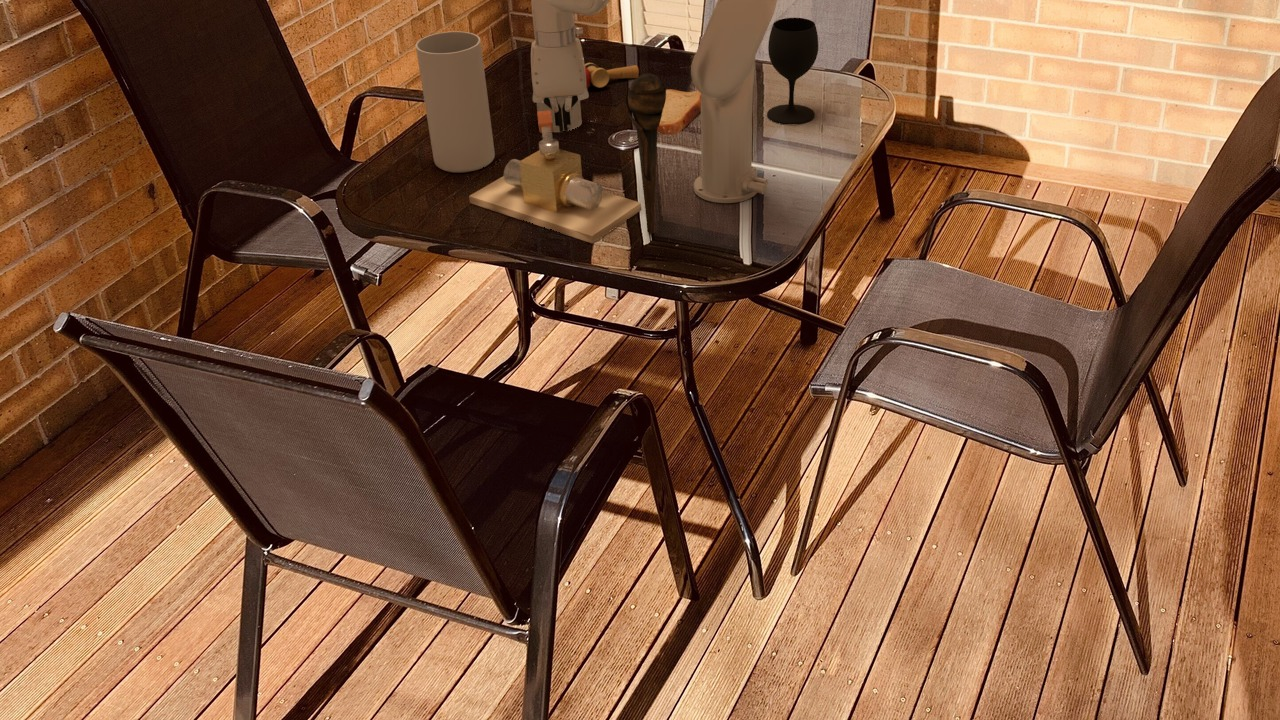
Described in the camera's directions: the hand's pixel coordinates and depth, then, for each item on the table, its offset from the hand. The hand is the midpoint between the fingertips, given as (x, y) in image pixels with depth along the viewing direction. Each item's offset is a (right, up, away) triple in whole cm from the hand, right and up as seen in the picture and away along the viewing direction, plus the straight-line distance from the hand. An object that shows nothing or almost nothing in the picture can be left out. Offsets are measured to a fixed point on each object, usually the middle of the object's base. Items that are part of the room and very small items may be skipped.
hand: (563, 128), depth 220 cm
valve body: (-1, -14, -5) cm, 15 cm away
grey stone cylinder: (-3, +7, +29) cm, 29 cm away
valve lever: (-3, -3, -5) cm, 6 cm away
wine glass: (+48, +8, +27) cm, 55 cm away
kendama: (+6, +19, +46) cm, 50 cm away
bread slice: (+23, +9, +30) cm, 39 cm away
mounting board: (-1, -16, -4) cm, 16 cm away
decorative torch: (+17, -22, -14) cm, 31 cm away
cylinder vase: (-21, -4, +15) cm, 26 cm away
